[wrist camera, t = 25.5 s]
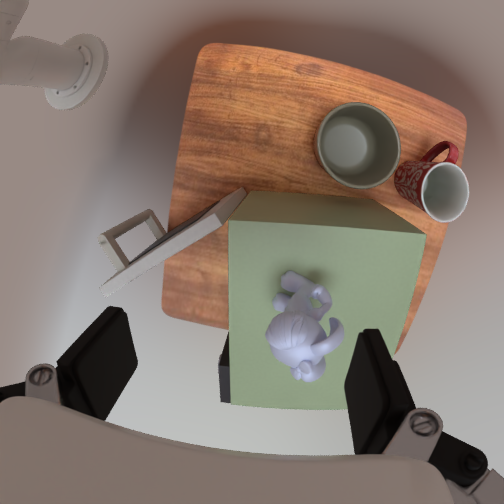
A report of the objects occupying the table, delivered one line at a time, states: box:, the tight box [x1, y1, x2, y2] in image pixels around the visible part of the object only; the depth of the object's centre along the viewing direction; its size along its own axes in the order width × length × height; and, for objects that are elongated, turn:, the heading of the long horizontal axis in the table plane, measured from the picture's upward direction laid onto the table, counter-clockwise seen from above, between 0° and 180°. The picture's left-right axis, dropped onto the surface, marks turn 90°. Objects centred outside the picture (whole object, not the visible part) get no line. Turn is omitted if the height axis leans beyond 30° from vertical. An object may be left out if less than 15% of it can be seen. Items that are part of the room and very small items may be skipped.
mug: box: [395, 141, 469, 223], centre depth 40 cm, size 13×9×14 cm
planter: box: [314, 102, 401, 189], centre depth 41 cm, size 12×12×11 cm
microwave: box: [218, 191, 427, 410], centre depth 44 cm, size 24×28×22 cm
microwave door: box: [98, 187, 247, 297], centre depth 42 cm, size 7×20×22 cm, turn 121°
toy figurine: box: [265, 270, 344, 382], centre depth 27 cm, size 7×6×12 cm
